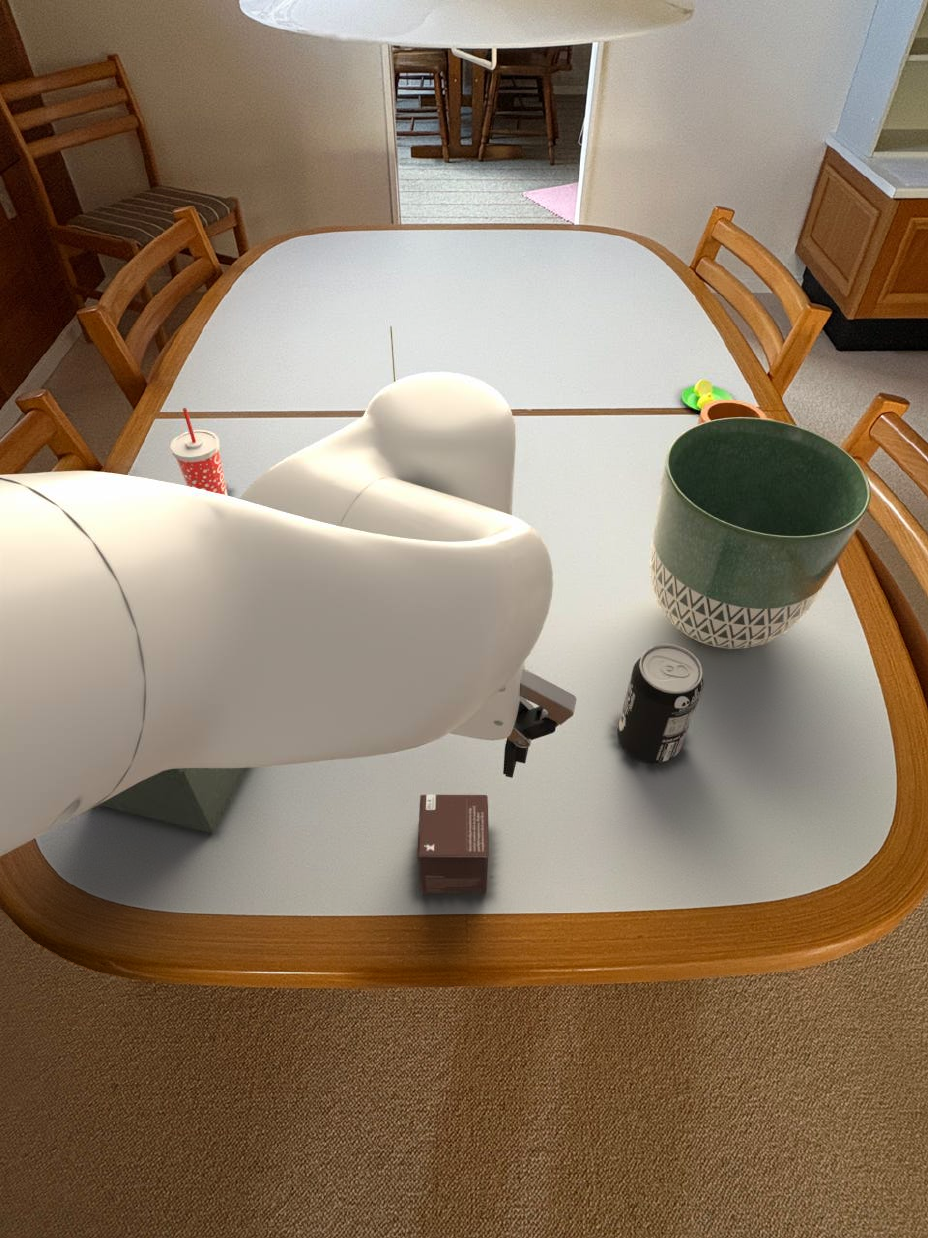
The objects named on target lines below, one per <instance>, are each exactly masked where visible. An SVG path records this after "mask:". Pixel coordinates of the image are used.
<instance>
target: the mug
mask: <svg viewBox="0 0 928 1238" xmlns="http://www.w3.org/2000/svg"><path fill="white" fill-rule="evenodd" d="M737 417H747V418H761V419H769V420H774V421H776V420H775V419H774V418H770V417H767V415H766V414H765V412H763V410H761V409H760V408H759V407H757V406H755V405H754V404H751V403H749V402H746V401H742V400H738V399H733V400H731V399H721V400H714V401H712V402H709V403H707V404H706V405H705V406H703V407H702V410H701V411H700V413H699V418H698V422H697V425H699V424H702V423H705V422H708V421H712V420H717V419H724V418H737Z"/></svg>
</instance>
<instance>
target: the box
mask: <svg viewBox="0 0 928 1238" xmlns="http://www.w3.org/2000/svg"><path fill="white" fill-rule="evenodd" d="M417 826H418V828H417V829H418V831H417V833H418V834H417V846H416V847H417V849H416V851H417V852H416V856H417V867H418V878H419V879H418V880H419V887H420V888H419V889H420V893H421V894H486V893H488V868H489V856H490V850H489V849H490V845H489V844H490V835H489V834H490V832H489V831H490V830H489V829H490V827H489V799H488V795H487V794H435V793H433V794H420V796H419V810H418V824H417Z"/></svg>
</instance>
